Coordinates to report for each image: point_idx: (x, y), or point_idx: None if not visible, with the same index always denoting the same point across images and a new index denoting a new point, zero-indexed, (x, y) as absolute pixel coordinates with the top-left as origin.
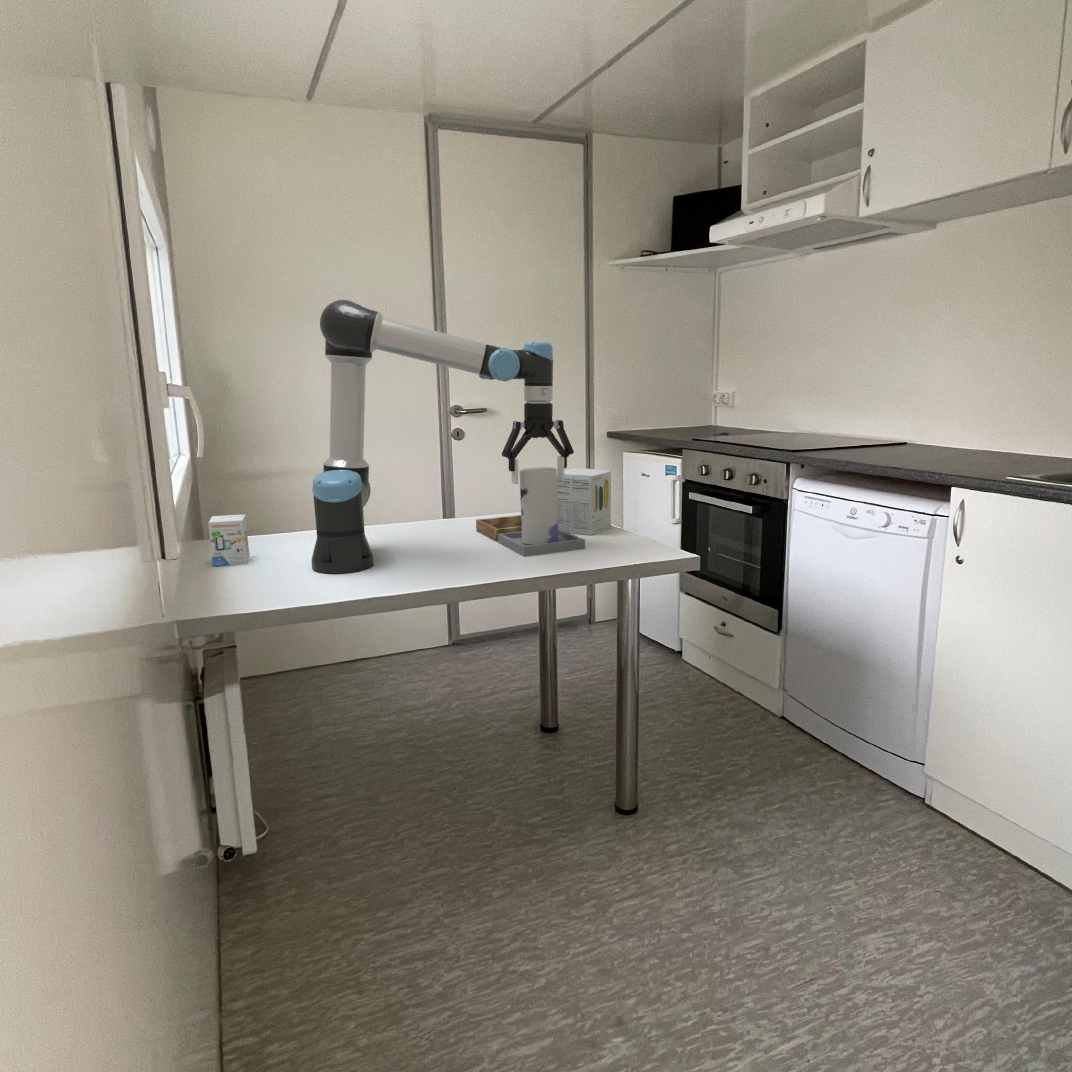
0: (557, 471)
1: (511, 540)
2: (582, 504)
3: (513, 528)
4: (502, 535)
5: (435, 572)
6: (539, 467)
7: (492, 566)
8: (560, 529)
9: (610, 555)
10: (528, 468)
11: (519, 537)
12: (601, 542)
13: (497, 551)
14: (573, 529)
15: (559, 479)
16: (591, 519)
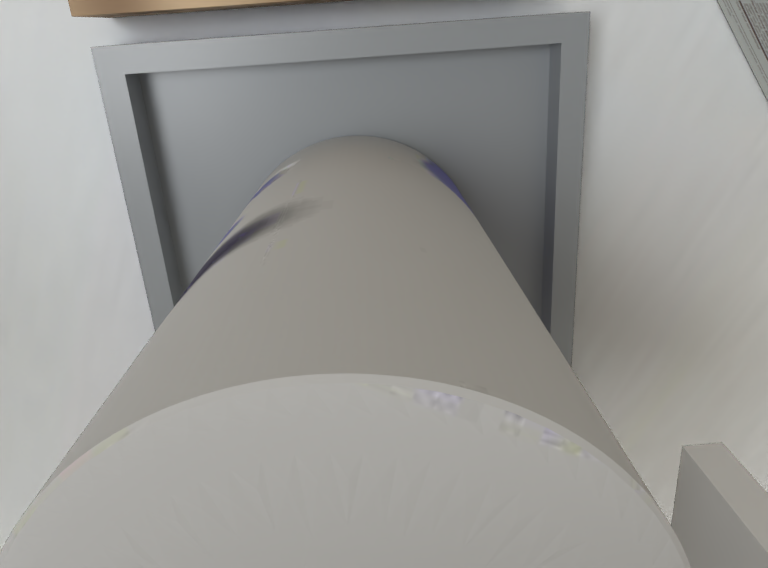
0: (755, 551)
1: (150, 287)
2: None
3: (230, 5)
4: (118, 119)
5: None
6: (484, 508)
7: (9, 524)
8: (584, 109)
9: None
10: (205, 544)
11: (272, 64)
12: (711, 310)
13: (75, 274)
14: (733, 2)
15: (682, 515)
16: None
